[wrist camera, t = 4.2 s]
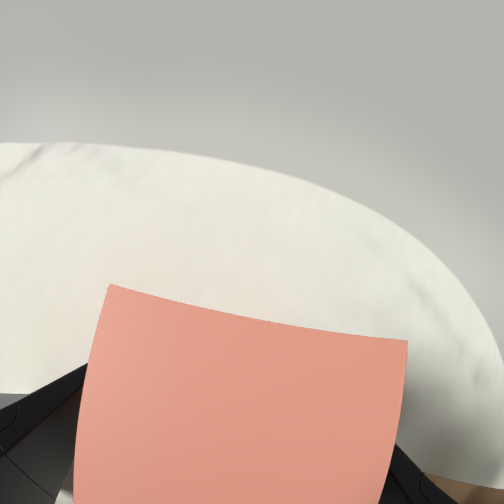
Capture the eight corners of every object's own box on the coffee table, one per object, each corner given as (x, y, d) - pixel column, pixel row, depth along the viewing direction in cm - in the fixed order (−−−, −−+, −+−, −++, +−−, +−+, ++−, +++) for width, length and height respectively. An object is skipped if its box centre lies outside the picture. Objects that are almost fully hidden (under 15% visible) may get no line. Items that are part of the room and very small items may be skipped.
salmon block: (256, 441, 14) (348, 570, 2) (173, 425, 14) (75, 535, 2) (271, 365, 16) (407, 340, 4) (189, 349, 16) (109, 283, 4)
